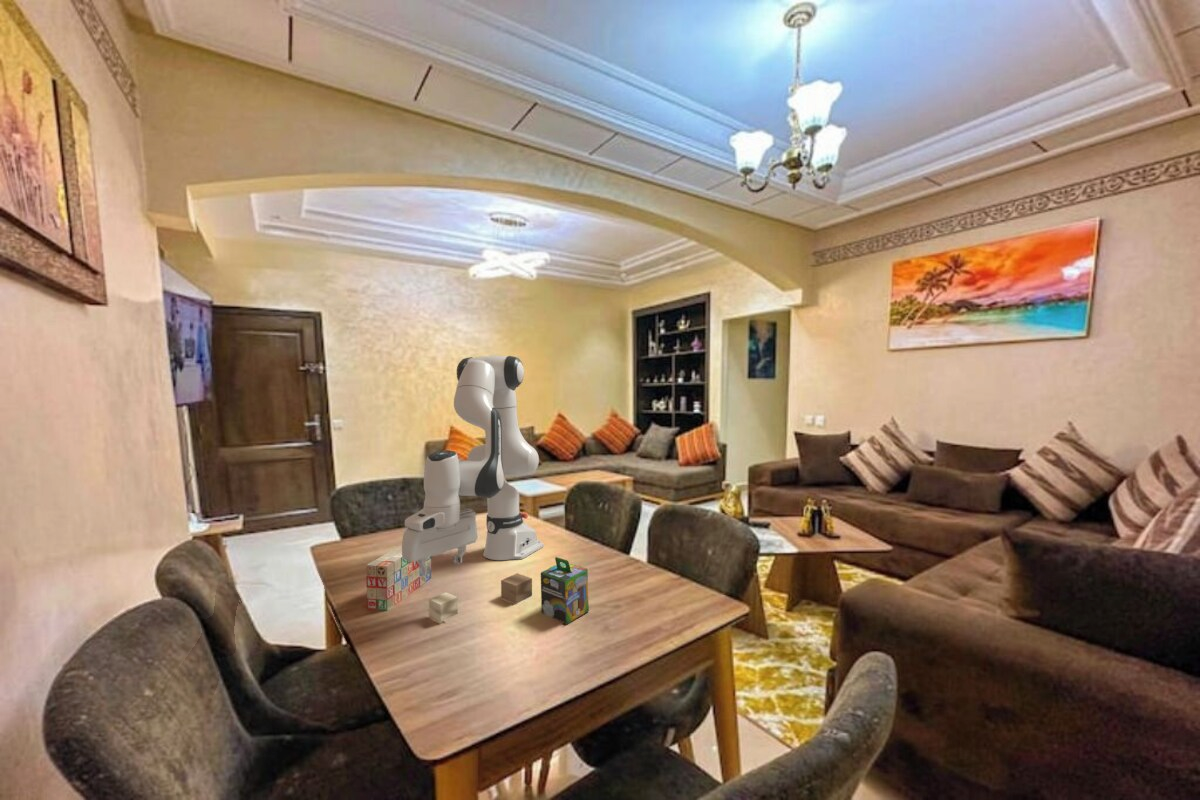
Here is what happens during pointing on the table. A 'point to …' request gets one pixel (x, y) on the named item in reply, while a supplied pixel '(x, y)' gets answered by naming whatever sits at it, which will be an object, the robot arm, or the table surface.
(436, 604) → the birch cube
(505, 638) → the table surface
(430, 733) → the table surface
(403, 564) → the stack of blocks
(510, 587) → the walnut block
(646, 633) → the table surface
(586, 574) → the chalk box
